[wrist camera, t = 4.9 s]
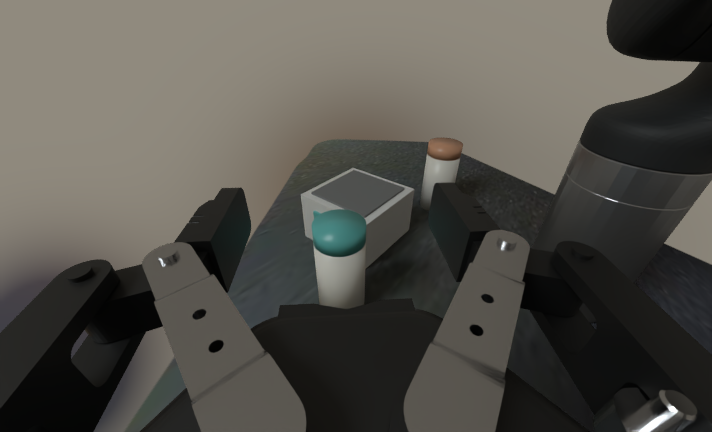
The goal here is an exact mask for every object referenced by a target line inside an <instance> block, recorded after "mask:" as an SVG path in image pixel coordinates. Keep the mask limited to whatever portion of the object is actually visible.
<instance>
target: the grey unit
mask: <svg viewBox="0 0 712 432" xmlns="http://www.w3.org/2000/svg"><path fill="white" fill-rule="evenodd" d="M413 196H414V189H412V188H409V187H407V186H404V185H401V184H398V183H395V182H392V181H389V180H386V179H384V178H381V177H378V176H375V175H372V174H369V173H366V172H364V171H361V170H358V169H355V168H352V169H350V170H348V171H346V172H344V173H342V174H340V175H338V176H336V177H334V178H332V179H330V180H328V181H326V182H325V183H323V184H321V185H319V186H317V187H315V188H313V189H311V190H309V191H307V192H305V193H303V194H301V200H302V209H303V217H304V226H305V235H306V236H307V237H308V238H310V239H312V240H313V235H312V222H313V220H314V219H315V218H316V217H317V216H318V215H320V214H321V213H324V212H326V211H330V210H336V209H345V210H351V211H354V212H357V213H359V214H360V215H361V216H363V217H364V219H365V220H366V261H365V269H366V268H367V267H368V266H369V265H371V264H372V263H373V262H374V261H375V260H376V259H377V258H378V257H379V256H381V255H382V254H383V253H384V252H385V251H386V250H387V249H388V248H389V247H390V246H392V245H393V244H394V243H395V242H396V241H397V240H398V239H399V238H400V237H402V236H403V235H404V234H405V233H406V232H407V231H408V230H409V226H410V218H411V211H412V203H413Z"/></svg>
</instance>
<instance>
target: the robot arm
mask: <svg viewBox="0 0 712 432" xmlns="http://www.w3.org/2000/svg"><path fill="white" fill-rule="evenodd" d="M607 35H608V39H609V42H610V43H611V45H612V46H613V48H614V49H615V50H617V51H618V52H620V53H622V54H624V55H627V56H631V57H635V58H641V59H647V60H665V61H667V60H668V61H691V62H700V63H699V65H698V66H697V67H696V68H695V70H694V71H693V72H692V73H691V74H690V75H689V76H688V77H687V78H685V79H684V80H683V81H681V82H680V83H678V84H676V85H674V86H671V87H670V88H667V89H665V90H662V91H660V92H658V93H655V94H652V95H649V96H645V97H642V98H638V99H634V100H630V101H625V102H620V103H615V104H611V105H608V106H605V107H602V108H601V109H598V110H597V111H596V112H594V113H593V114H592V116H591V117H590V119H589V120H588V122H587V124H586V126H585V129H584V131H583V133H582V135H581V138H580V140H579V142H578V144H577V147H576V149H575V151H574V153H573V156H572V158H571V160H570V162H569V165H568V167H567V170H566V172H565V174H564V176H563V179H562V181H561V183H560V185H559V187H558V190H557V192H556V194H555V196H554V199H553V201H552V203H551V205H550V208H549V210H548V212H547V214H546V217H545V219H544V221H543V223H542V226H541V228H540V230H539V232H538V235H537V237H536V239H535V241H534V244H533V246H532V248H530V246H529V244H528V242H527V241H526V240H525V239H524V238H522V237H521V236H519V235H517V234H515V233H512V232H509V231H504V230H501V229H500V228H499V227H498V226H497V224H496V223H495V222H494V221H493V220H492V218H491V217H490V216H489V215H488V214H486V211H485V210H484V209H483V208H482V206H481V205H480V204H479V203H478V201H477V200H476V199H475V198H473V197H471V196H470V195H468V194H466V193H462V192H461V191H460V189H459V188H458V187H457V185H456V184H455V183H454V182H446V183H435V185H434V187H433V192H432V198H431V204H430V210H429V226H430V229H431V231H432V233H433V235H434V237H435V239H436V241H437V243H438V245H439V247H440V249H441V251H442V253H443V255H444V257H445V260H446V262H447V264H448V266H449V268H450V270H451V272H452V274H453V276H454V278H455V280H456V282H461V283H460V285H459V287H458V289H457V292H456V294H455V296H454V298H453V300H452V302H451V304H450V306H449V308H448V311H447V313H446V315H445V317H444V319H442V318H440V317H438V316H436V315H434V314H432V313H429V312H426V311H423V310H419V309H415V308H414V305H413V301H412V298H411V299H392V300H379V301H375V302H372V303H368V304H364V305H361V306H357V307H354V308H350V309H343V308H336V307H330V306H324V305H318V304H298V305H280V308H279V314H278V316H277V317H274V318H271V319H268V320H266V321H264V322H262V323H260V324H258V325H256V326H254V327H253V328H251V329H250V328H249V327H248V325H247V324H246V322H245V321H244V319H243V318H242V316H241V315H240V313H239V312H238V310H237V309H236V307H235V306H234V304H233V303H232V301H231V299H230V298H229V296H228V295H227V293H228V291H229V288H230V286H231V283H232V280H233V278H234V275H235V272H236V270H237V267H238V265H239V262H240V259H241V257H242V254H243V251H244V249H245V246H246V243H247V241H248V238H249V236H250V231H251V220H250V216H249V211H248V207H247V203H246V198H245V194H244V191H243V189H242V188H222V189H221V190H220V191H219V193H218V195H217V196H216V197H215V199H214V200H210V201H208V202H206V203H205V204H203V205H202V206H200V207H199V208H198V209H197V211H196V212H195V214H194V215H193V217H192V218H191V219H190V221H189V223H188V224H187V225H186V226H185V228H184V229H183V230H182V232H181V233H180V235H179V236H178V238H177V239H176V240H175V242H174V243H170V244H166V245H163V246H161V247H158V248H156V249H154V250H153V251H151V252H150V253H149V254H148V255H147V256H146V257H145V258H144V260H143V262H142V264H141V265H137V266H134V267H129V268H125V269H121V270H117V271H115V270H114V269H113V267H112V265H111V264H110V263H109V262H108V261H106V260H91V261H87V262H83V263H80V264H77V265H75V266H72V267H70V268H69V269H66V270H65V271H63V272H62V273H60V274H59V275H58V276H57V277H56V278H54V279H53V280H52V281H51V282H50V283H49V284H48V286H46V288H44V289H43V291H42V292H41V293H40V294H39V295H38V296H37V297H36V298H35V299H34V300H33V301H32V302H31V303H30V304H29V305H28V306H27V307H26V308H25V309H24V310H23V311H22V312H21V313H20V314H19V315H18V316H17V317H16V318H15V319H14V320H13V321H12V322H11V323H10V324H9V325H8V326H7V327H6V328H5V329H4V330H3V331H2V332H1V333H0V432H93V431H94V430H95V427H96V425H97V424H98V422H99V420H100V418H101V416H102V414H103V412H104V410H105V409H106V407H107V405H108V403H109V401H110V399H111V397H112V395H113V393H114V391H115V390H116V388H117V385H118V384H119V382H120V380H121V378H122V376H123V374H124V373H125V371H126V369H127V367H128V365H129V363H130V361H131V359H132V357H133V355H134V353H135V352H136V350H137V348H138V346H139V344H140V342H141V340H142V338H143V336H144V334H145V333H146V331H149V330H153V329H156V328H159V327H162V326H163V327H164V330H165V332H166V335H167V337H168V340H169V343H170V345H171V348H172V351H173V353H174V356H175V359H176V361H177V364H178V366H179V369H180V372H181V374H182V377H183V379H184V382H185V385H186V387H187V388H186V389H184V390H183V391H182V392H181V393H180V394H179V395H178V396H177V397H176V398H175V399H174V400H173V401H172V402H171V403H170V404H169V405H167V406H166V407H165V408H164V409H163V410H162V411H161V412H160V413H159V414H158V415H157V416H156V417H155V418H154V419H153V420H152V421H151V422H149V423H148V424H147V425H146V426H145V427H144V428H143V429H142V430H141V431H140V432H589V431H588V430H587V429H585V428H584V427H583V426H582V425H580V424H579V423H578V422H576V421H575V420H574V419H573V418H571V417H570V416H569V415H567V414H566V413H565V412H563V411H562V410H561V409H560V408H558V407H557V406H556V405H554V404H553V403H552V402H551V401H549V400H548V399H547V398H545V397H544V396H543V395H542V394H540V393H539V392H538V391H536V390H535V389H534V388H533V387H531V386H530V385H529V384H527V383H526V382H525V381H524V380H522V379H521V378H520V377H518V376H517V375H516V374H515V373H513V372H512V371H511V370H509V369H508V368H507V362H508V358H509V353H510V349H511V344H512V340H513V336H514V331H515V327H516V322H517V318H518V313H519V309H520V308H523V309H528V310H530V312H531V313H532V315H533V316H534V318H535V320H536V321H537V323H538V325H539V326H540V328H541V329H542V331H543V333H544V334H545V336H546V337H547V339H548V341H549V342H550V344H551V346H552V347H553V349H554V350H555V352H556V354H557V355H558V357H559V358H560V360H561V362H562V363H563V365H564V367H565V368H566V370H567V371H568V373H569V375H570V376H571V378H572V379H573V381H574V383H575V384H576V386H577V388H578V389H579V391H580V392H581V394H582V396H583V397H584V399H585V401H586V402H587V404H588V405H589V407H590V409H591V410H592V412H593V413H594V415H595V416H594V418H593V428H594V432H712V355H711V354H710V353H709V352H708V351H707V350H706V349H705V348H704V347H703V346H702V345H700V344H699V343H698V342H697V341H696V340H695V339H694V338H693V337H692V336H691V335H690V334H689V333H687V332H686V331H685V330H684V329H683V328H682V327H681V326H680V325H679V324H678V323H677V322H676V321H674V320H673V319H672V318H671V317H670V316H669V315H668V314H667V313H666V312H665V311H664V310H663V309H662V308H660V307H659V306H658V305H657V304H656V303H655V302H654V301H653V300H652V299H651V298H650V297H649V296H647V295H646V294H645V293H644V292H643V291H642V290H641V289H640V288H639V287H638V286H637V285H636V284H634V282H635V280H636V279H637V278H638V276H639V275H640V274H641V272H642V271H643V270H644V269H645V267H646V266H647V265H648V263H649V262H650V261H651V259H652V258H653V257H654V255H655V254H656V253H657V251H658V250H659V249H660V248H661V246H662V245H663V244H664V242H665V241H666V240H667V238H668V237H669V236H670V234H671V233H672V232H673V230H674V229H675V228H676V227H677V225H678V224H679V223H680V221H681V220H682V219H683V217H684V216H685V215H686V213H687V212H688V211H689V209H690V208H691V207H692V206H693V204H694V202H695V201H696V200H697V199H698V197H699V196H700V195H701V193H702V192H703V191H704V189H705V188H706V187H707V186H708V184H709V183H710V181H711V180H712V0H612V3H611V5H610V9H609V13H608V19H607ZM592 322H596V323H597V329H596V330H595V329H594V327H593V326H592V325H591V324H590V323H592ZM84 330H85V331H86V332H87V334H88V336H87V338H86V339H85V341H84V342H83V343H82V345H81V346H80V348H79V349H78V351H77V352H76V353H75V355H74V356H73V358H72V359H71V350H72V347H73V345H74V343H75V342H76V340H77V339H78V338H79V336H80V335H81V334H82V332H83V331H84Z"/></svg>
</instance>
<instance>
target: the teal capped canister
mask: <svg viewBox="0 0 712 432" xmlns="http://www.w3.org/2000/svg"><path fill="white" fill-rule="evenodd" d="M312 235H313V245H314V255H315V264H316V274H317V284H318V293H319V303H320V305H324V306H330V307H336V308H343V309H350V308H354V307H357V306H361V305H364V300H365V261H366V220H365V219H364V217H363V216H361V215H360V214H359V213H357V212H354V211H351V210H345V209H336V210H330V211H326V212H324V213H321V214H320V215H318V216H317V217H316V218H315V219H314V220H313V222H312Z"/></svg>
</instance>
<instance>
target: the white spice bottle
mask: <svg viewBox="0 0 712 432" xmlns="http://www.w3.org/2000/svg"><path fill="white" fill-rule="evenodd" d="M462 147H463V144H462V143H461V142H460V141H458V140H455V139H451V138H434V139H431V140H430V141H429V145H428V152H427V158H426V165H425V172H424V178H423V185H422V192H421V199H420V206H421V207H422V208H423V209H425V210H427V211H429V210H430V204H431V198H432V192H433V187H434V185H435V183H446V182H454V183H455V180H456V175H457V170H458V166H459V161H460V157H461V152H462Z"/></svg>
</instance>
